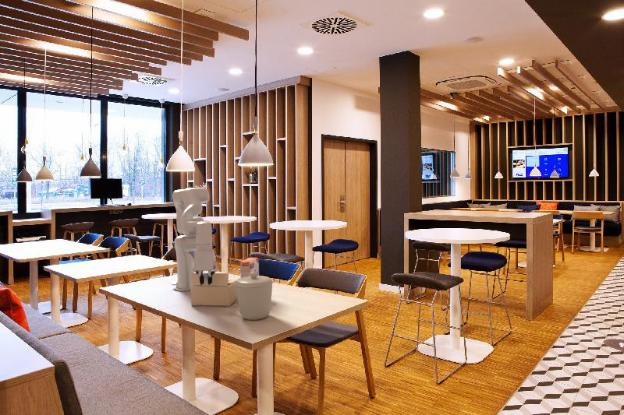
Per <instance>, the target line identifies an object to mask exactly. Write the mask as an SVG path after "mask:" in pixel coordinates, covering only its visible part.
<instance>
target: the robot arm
mask: <svg viewBox="0 0 624 415" xmlns="http://www.w3.org/2000/svg"><path fill="white" fill-rule="evenodd" d="M171 196H172V202H173V204H174V207H175V211H176V212H175V213H176V214H175V215H176V230H177V232H178V233H179V234H182V235H179V236H176V238H174V242H173V243H174V249H175V253H176V254H175V255H176V269H177V270H176V271H177V281H172V282H171V285H172V286H175V291H178V292H186V291H191V286H193V285H191V277H192V273H197V274H198V276H199V279H200V285H202V284H204V277H203V276H204V275H203V273H204V272H207V273H208V275H209V277H208V285H210V284H212V275H213V274H214V273H218V271H219V268H218V267H219V266H217V259H216V253H215V250H214V249H213V232H212V229H213V228H212V223H211V222H209V220H204V218H203V217H202V216H199V215H200V214H201V213H202V211H203V204H207V203H209V200H210V199H211V198H210V192H209V190H208V189H207V188H206V187H188V188H185V189H177V190H174V191H173V192H172V195H171ZM190 252H194V256H193V255H192V254H191V253H190Z"/></svg>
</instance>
